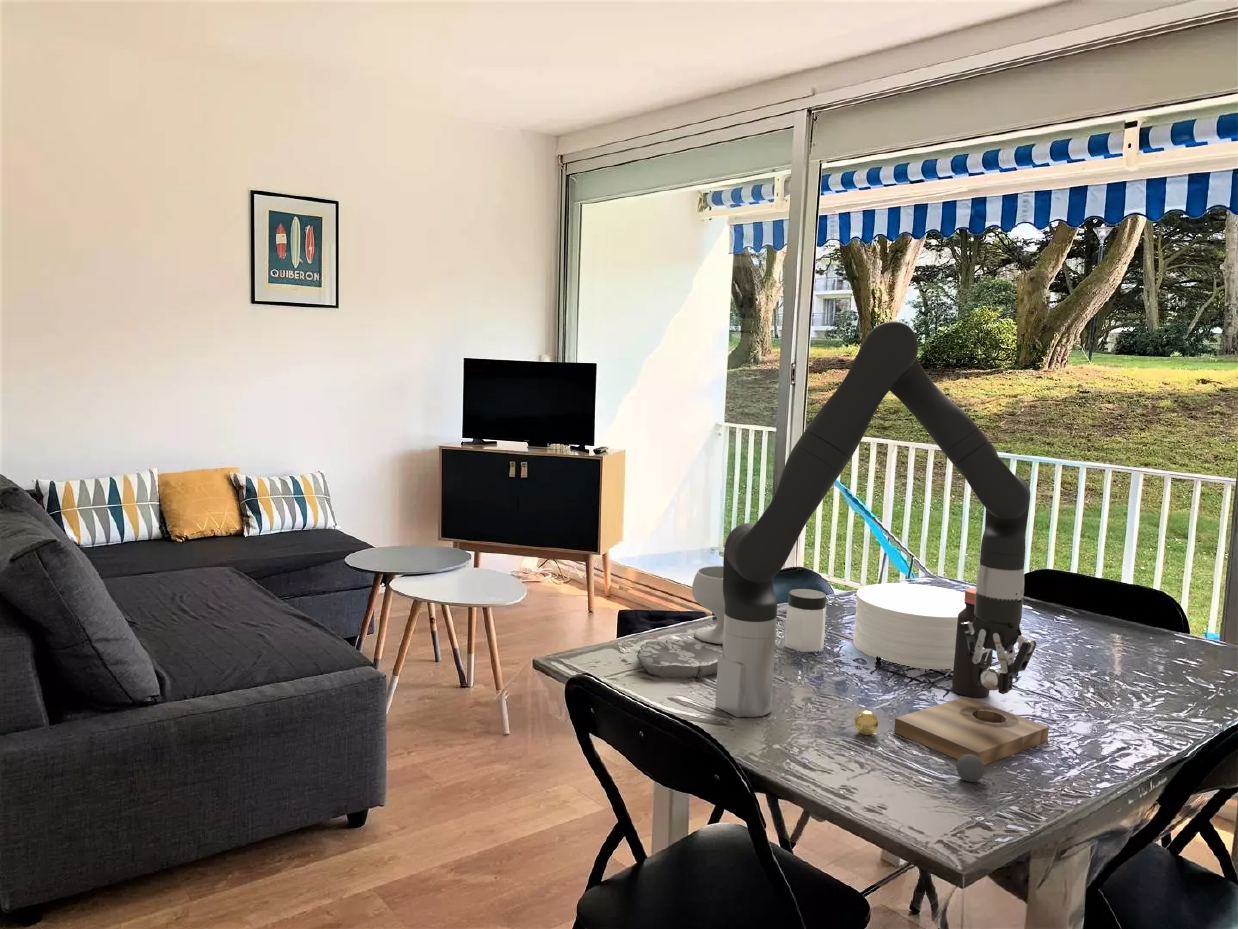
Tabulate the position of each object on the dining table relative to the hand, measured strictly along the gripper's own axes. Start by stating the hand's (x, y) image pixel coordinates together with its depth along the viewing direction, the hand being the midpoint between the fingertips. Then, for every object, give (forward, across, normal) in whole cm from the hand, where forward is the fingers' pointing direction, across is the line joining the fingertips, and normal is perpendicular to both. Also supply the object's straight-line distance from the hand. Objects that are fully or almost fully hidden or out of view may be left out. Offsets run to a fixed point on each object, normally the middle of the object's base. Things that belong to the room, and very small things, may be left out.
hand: (991, 688), depth 160 cm
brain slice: (+8, -53, -26) cm, 60 cm away
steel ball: (-2, 0, 0) cm, 2 cm away
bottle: (+8, -13, +14) cm, 20 cm away
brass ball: (+5, -10, -20) cm, 23 cm away
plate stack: (+8, -35, +28) cm, 46 cm away
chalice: (+8, -63, -6) cm, 64 cm away
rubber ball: (+5, +10, -20) cm, 23 cm away
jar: (+8, -49, +6) cm, 50 cm away
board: (+7, 0, -5) cm, 9 cm away
